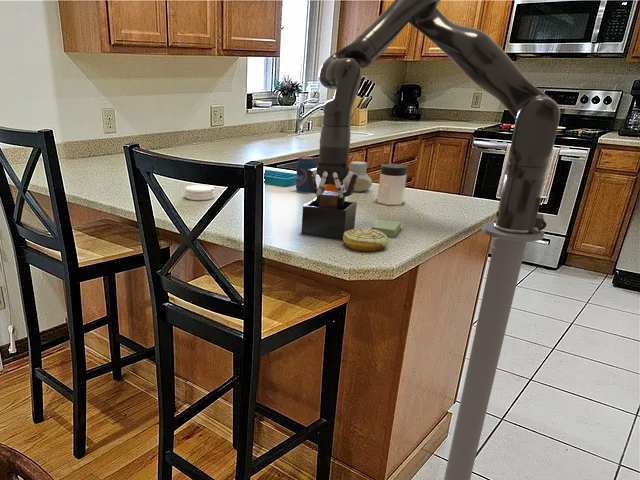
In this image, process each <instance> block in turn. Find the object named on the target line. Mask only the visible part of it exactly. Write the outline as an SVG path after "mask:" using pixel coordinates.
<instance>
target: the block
mask: <svg viewBox="0 0 640 480" xmlns="http://www.w3.org/2000/svg"><path fill="white" fill-rule="evenodd" d="M338 198H339V195H338V192H333V191H324V192H323V193H321V194H320V204H319V207H323V208H331V209H337V207H338Z"/></svg>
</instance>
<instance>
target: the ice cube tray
mask: <svg viewBox="0 0 640 480" xmlns="http://www.w3.org/2000/svg"><path fill="white" fill-rule="evenodd" d="M296 175H297V173H294V172H286V171H279V170H273V169H272V170H271V169H265V173H264V179H265V181H264V183H263V184H266V185H271V186H272V185H273V186H279V187H290V186H293V185H296Z"/></svg>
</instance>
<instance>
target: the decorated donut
mask: <svg viewBox="0 0 640 480" xmlns="http://www.w3.org/2000/svg"><path fill="white" fill-rule="evenodd" d="M388 240H389V238H388V236H386V235H385V234H384V233H382V232H381V231H378V230H373V229H372V228H354V229H351V230H348V231H346V232H345V233H344V235H343V240H342V241H343V242H344V244H345V246H346V247H347V248H348V249H351V250H354V251H363V252H375V251H378V250H380V249H381V250H382V249H383V248H384V247H386V246H387V244H388Z"/></svg>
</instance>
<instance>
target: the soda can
mask: <svg viewBox="0 0 640 480" xmlns="http://www.w3.org/2000/svg"><path fill="white" fill-rule="evenodd" d="M317 167H318V162H317V159H316V156H310V155H302V156H299V157H298V160H297V162H296V174H297V175H296V184H295V189H296V191H297V192H298V193H301V194H311V193H312V192H310V187H309V182H308V177H307V171H308V170H310V169H317ZM316 178H317V176H316V177H315V179H316ZM316 180H317V179H316Z"/></svg>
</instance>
